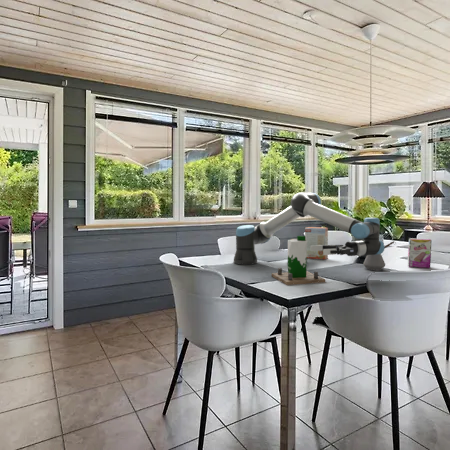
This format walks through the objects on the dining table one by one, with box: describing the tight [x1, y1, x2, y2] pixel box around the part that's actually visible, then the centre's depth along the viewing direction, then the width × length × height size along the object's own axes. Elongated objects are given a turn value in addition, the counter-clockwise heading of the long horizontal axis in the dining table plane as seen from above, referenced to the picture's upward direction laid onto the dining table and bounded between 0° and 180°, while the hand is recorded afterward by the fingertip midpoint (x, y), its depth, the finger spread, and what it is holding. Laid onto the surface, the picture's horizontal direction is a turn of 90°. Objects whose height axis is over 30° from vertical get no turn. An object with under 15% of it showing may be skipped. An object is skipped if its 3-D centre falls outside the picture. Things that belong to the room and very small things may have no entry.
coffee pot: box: [362, 241, 397, 271], centre depth 202 cm, size 21×12×15 cm, turn 113°
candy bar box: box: [407, 237, 432, 269], centre depth 204 cm, size 11×5×16 cm, turn 71°
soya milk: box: [287, 235, 308, 278], centre depth 177 cm, size 9×9×20 cm
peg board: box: [271, 267, 327, 286], centre depth 177 cm, size 20×20×4 cm
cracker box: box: [304, 226, 329, 260], centre depth 238 cm, size 14×6×21 cm, turn 58°
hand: (316, 250), depth 179 cm, fingers open, 13 cm apart
